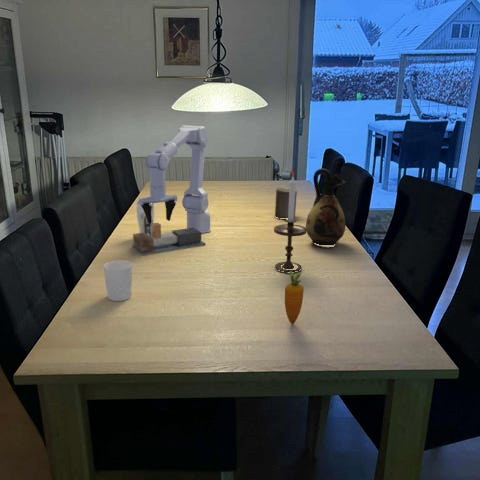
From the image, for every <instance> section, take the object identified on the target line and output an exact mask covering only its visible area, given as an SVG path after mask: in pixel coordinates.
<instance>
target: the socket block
mask: <svg viewBox="0 0 480 480" xmlns="http://www.w3.org/2000/svg"><path fill="white" fill-rule="evenodd" d="M132 239H133V241H132V242H133V245H134V246H135V247H136V248H137V249H139V250H140V251H141V252H148V251H154V241H153V238H152V237H150V236H149V235H147V234H146V233H132Z"/></svg>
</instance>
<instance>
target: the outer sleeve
mask: <svg viewBox="0 0 480 480" xmlns="http://www.w3.org/2000/svg"><path fill="white" fill-rule="evenodd" d="M186 228H187V227H186ZM186 228H180V229H175V230H171V231H172V232H171V233H176V234H177V235H178V242H179V243H173V244H166V245H160V246H154V251H148V252H141V251H140V250H139V249H137V248H136V247H135V246H134V244H131V248H132V249H133V250H134V251H136V252H137V253H138V254H140V255H141V256H146V255H147V256H148V255H154V254H158V253H159V254H160V253H165V252H171V251H177V250H185V249H189V248H190V249H191V248H196V247H203V246H206V242H204V241H202V233H201V232H200V231H198V230H196V229H195V228H187V229H186Z"/></svg>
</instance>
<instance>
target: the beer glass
mask: <svg viewBox="0 0 480 480" xmlns="http://www.w3.org/2000/svg"><path fill="white" fill-rule="evenodd" d="M149 205H150V206H151V207H152V209H151V223H155V203H150V204H149ZM136 218H137V223H138V224H137V225H138V229H139V233H146V234H147V235H149V236H152V227H151V223H148V222H147V218H146V215H145V212H144V210H143V208H142V206H141V205H140V204H139V200H138V201H137V202H136Z"/></svg>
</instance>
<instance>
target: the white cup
mask: <svg viewBox="0 0 480 480" xmlns="http://www.w3.org/2000/svg"><path fill="white" fill-rule="evenodd" d="M132 268H133V263H132V262H131V261H129V260H123V259H122V260H120V259H119V260H112V261H108V262H106V263H104V264H103V271H104V278H105V279H104V280H105V286H106V292H107V298H108V300H110V301H113V302H123V301H127V300H129V299H130V298H131V297H132V286H133V285H132V284H133V283H132V282H133V273H132V272H133V269H132Z"/></svg>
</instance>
